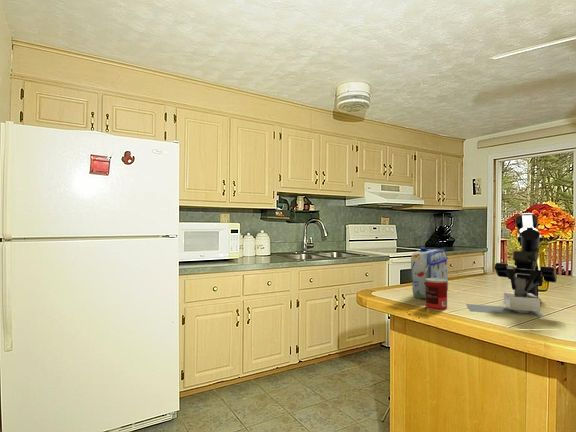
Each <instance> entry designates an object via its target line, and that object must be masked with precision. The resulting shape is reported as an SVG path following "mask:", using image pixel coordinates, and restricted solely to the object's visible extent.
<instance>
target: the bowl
mask: <svg viewBox="0 0 576 432" xmlns="http://www.w3.org/2000/svg"><path fill="white" fill-rule="evenodd" d="M513 311H515V312H519V313H529V311H526V310H513Z"/></svg>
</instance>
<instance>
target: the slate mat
mask: <svg viewBox="0 0 576 432" xmlns="http://www.w3.org/2000/svg"><path fill="white" fill-rule="evenodd" d="M465 305H466V307H467V308H468V310H469V312H475V313H487V314H500V315H513V316H514V315H515V316H523V317H524V316H525V317H526V316H527V317H528V316H529V317H539V318H546V316H545V315H543V314H542V313H540V311H529V313H519V312H515V311H513V310H512V309H509V308H508V307H507V306H502V305H501V306H497V305H486V304H470V303H465Z"/></svg>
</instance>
